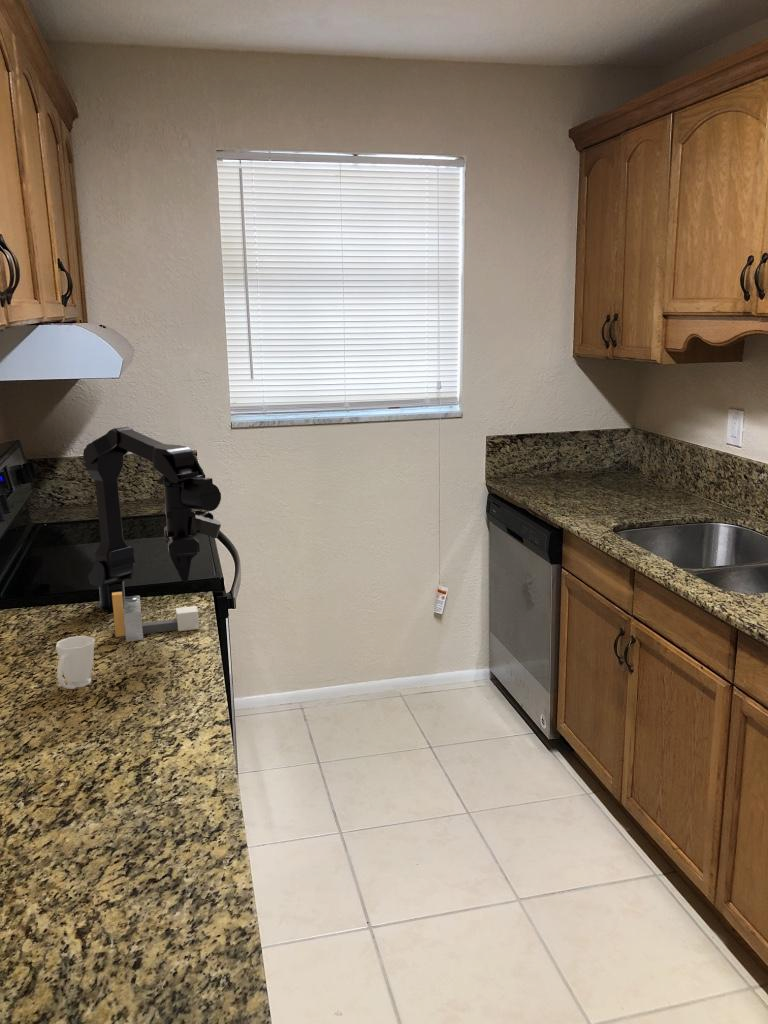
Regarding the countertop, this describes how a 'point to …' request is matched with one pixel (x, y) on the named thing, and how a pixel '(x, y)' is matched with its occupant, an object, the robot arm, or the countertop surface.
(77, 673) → the cup
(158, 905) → the countertop surface
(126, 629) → the housing
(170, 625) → the multicoloured u-shaped piece
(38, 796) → the countertop surface
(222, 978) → the countertop surface
